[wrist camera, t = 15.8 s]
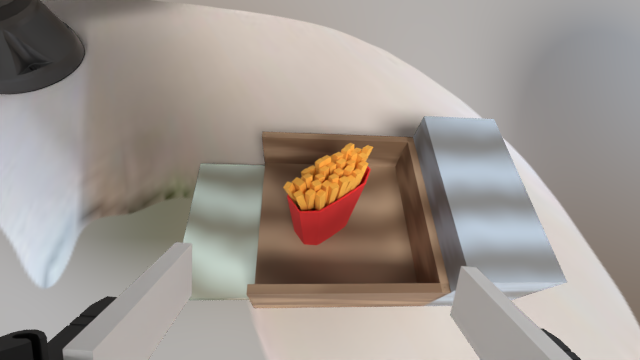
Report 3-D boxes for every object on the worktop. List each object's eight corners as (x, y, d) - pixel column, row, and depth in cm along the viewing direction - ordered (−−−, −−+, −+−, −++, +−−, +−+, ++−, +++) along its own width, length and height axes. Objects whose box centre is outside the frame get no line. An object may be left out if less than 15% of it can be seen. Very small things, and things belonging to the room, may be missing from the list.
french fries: (338, 193, 37) (357, 125, 26) (359, 218, 35) (388, 156, 25) (279, 230, 33) (274, 169, 23) (299, 259, 32) (303, 207, 22)
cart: (203, 162, 39) (180, 105, 31) (452, 169, 42) (493, 119, 33) (171, 309, 30) (124, 284, 21) (495, 305, 33) (567, 282, 24)
